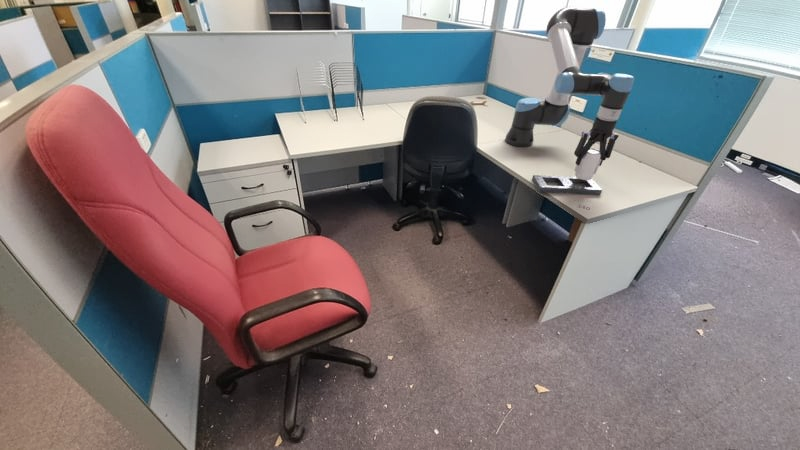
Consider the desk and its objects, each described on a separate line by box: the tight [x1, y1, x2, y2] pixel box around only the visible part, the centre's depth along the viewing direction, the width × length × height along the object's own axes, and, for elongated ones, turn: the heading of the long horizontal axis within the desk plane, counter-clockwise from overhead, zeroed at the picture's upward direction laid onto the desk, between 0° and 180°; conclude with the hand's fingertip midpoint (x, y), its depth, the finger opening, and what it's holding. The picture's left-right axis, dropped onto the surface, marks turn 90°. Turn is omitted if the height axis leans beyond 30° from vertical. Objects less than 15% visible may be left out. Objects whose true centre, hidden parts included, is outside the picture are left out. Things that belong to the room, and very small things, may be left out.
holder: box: [531, 174, 603, 196], centre depth 144 cm, size 11×26×2 cm, turn 88°
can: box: [574, 147, 601, 180], centre depth 138 cm, size 6×6×12 cm
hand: (584, 172), depth 140 cm, fingers closed on can, 6 cm apart
